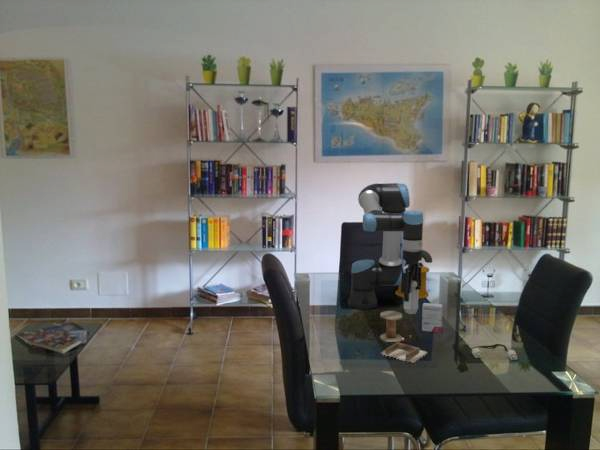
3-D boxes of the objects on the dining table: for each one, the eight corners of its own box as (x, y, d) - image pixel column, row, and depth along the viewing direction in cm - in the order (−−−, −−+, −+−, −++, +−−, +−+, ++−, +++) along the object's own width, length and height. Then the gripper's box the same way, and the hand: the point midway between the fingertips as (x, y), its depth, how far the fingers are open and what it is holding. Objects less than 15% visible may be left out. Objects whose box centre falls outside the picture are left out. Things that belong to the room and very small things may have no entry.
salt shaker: (401, 310, 201) (402, 279, 199) (415, 310, 201) (416, 278, 200) (406, 315, 195) (406, 282, 193) (420, 314, 196) (421, 282, 194)
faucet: (426, 286, 292) (427, 253, 289) (401, 283, 300) (401, 250, 297) (436, 280, 307) (437, 248, 304) (411, 276, 315) (412, 246, 312)
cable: (465, 344, 206) (466, 336, 205) (506, 346, 203) (507, 338, 203) (473, 360, 190) (474, 351, 190) (518, 362, 188) (518, 353, 188)
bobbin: (376, 339, 210) (376, 314, 209) (386, 333, 217) (387, 309, 216) (395, 344, 205) (395, 319, 203) (405, 338, 212) (406, 313, 210)
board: (380, 354, 195) (380, 347, 194) (395, 345, 204) (395, 338, 204) (413, 363, 186) (413, 356, 186) (427, 353, 195) (427, 347, 195)
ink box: (442, 329, 222) (443, 303, 221) (441, 332, 218) (442, 307, 216) (422, 327, 225) (423, 302, 223) (421, 330, 220) (422, 305, 219)
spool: (432, 292, 280) (433, 266, 278) (422, 300, 265) (423, 273, 263) (402, 288, 290) (403, 263, 287) (390, 295, 275) (391, 269, 272)
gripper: (410, 254, 185) (408, 314, 188) (431, 247, 200) (429, 303, 203) (392, 252, 190) (391, 310, 193) (414, 245, 204) (412, 299, 208)
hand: (410, 306), depth 198 cm, fingers closed on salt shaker, 6 cm apart
